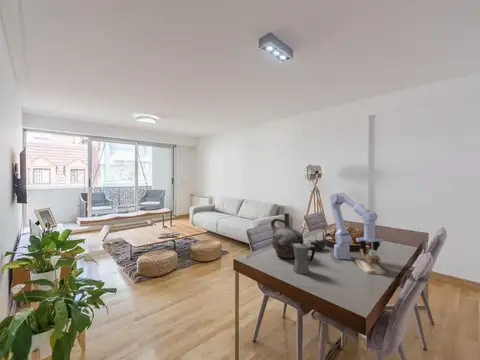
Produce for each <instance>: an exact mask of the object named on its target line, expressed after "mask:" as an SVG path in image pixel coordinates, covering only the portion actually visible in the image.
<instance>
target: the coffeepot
mask: <svg viewBox="0 0 480 360" xmlns="http://www.w3.org/2000/svg"><path fill="white" fill-rule="evenodd" d="M303 241H304V240H303ZM303 241H300V243H298V244H295V243H294V244H291V245H292V246H293V249H294V256H295V258H294V263H293V267H292V268H293V272H294V273H295V274H298V275H299V274H300V275H307V274H309V272H310V269H309V268H310V267H309V262H313V260H314V257H315V253H316V251H315V250H314V248H313V247H314V246H313V247H311V246H310V245H309V244H307V243H303V244H302V242H303ZM309 251H311V255H310V258H309V259H308V255H309Z"/></svg>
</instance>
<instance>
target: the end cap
mask: <svg viewBox="0 0 480 360" xmlns="http://www.w3.org/2000/svg"><path fill="white" fill-rule="evenodd" d="M310 245H312V246H310V247H313V248H314V250H315V252H319V251H320V250H322V249H325V247H326V242H325V240H322V239H321V240H318V239H315V240H314V241H310Z"/></svg>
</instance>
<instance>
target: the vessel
mask: <svg viewBox="0 0 480 360" xmlns="http://www.w3.org/2000/svg"><path fill="white" fill-rule="evenodd" d="M283 214H284V218H282V217H274V218H272V220H271V221H270V227H271V229H272V231H273V232H272V234H273V235H272V240H271V244H272V248H273V249H274V250H275V253H276V255H278V256H279V257H280V258H283V259H284V258H285V259H295V256H294V249H293V246H292V245H291V244H294V243H295V244H298V243H300V241H303V242H302V244H305V243H304V235H303V233H301V232H300V231H299V230H297V229H296V228H292V227H291V226H290V213H289V212H284V213H283ZM276 222H280V223H283V224H284V227H279V228H277V227H276V226H275V223H276Z"/></svg>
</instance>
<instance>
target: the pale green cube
mask: <svg viewBox="0 0 480 360" xmlns="http://www.w3.org/2000/svg"><path fill="white" fill-rule="evenodd" d="M368 254H369V255H370V256H376V255H377V251H375V250H373V248H372V249H371V248H370V249H368Z"/></svg>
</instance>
